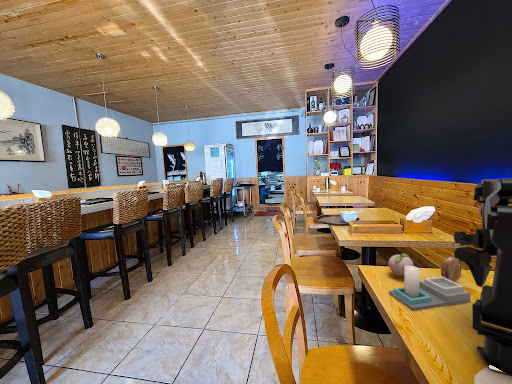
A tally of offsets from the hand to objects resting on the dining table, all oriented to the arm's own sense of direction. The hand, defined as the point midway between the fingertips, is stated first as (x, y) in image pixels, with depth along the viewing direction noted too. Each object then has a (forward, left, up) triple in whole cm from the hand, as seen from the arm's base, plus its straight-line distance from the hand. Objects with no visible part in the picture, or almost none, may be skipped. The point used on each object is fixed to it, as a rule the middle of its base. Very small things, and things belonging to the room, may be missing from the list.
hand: (494, 284), depth 58 cm
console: (+10, +12, -12) cm, 20 cm away
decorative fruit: (+24, +18, -12) cm, 32 cm away
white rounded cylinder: (+7, +17, -11) cm, 21 cm away
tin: (+28, +1, -12) cm, 31 cm away
